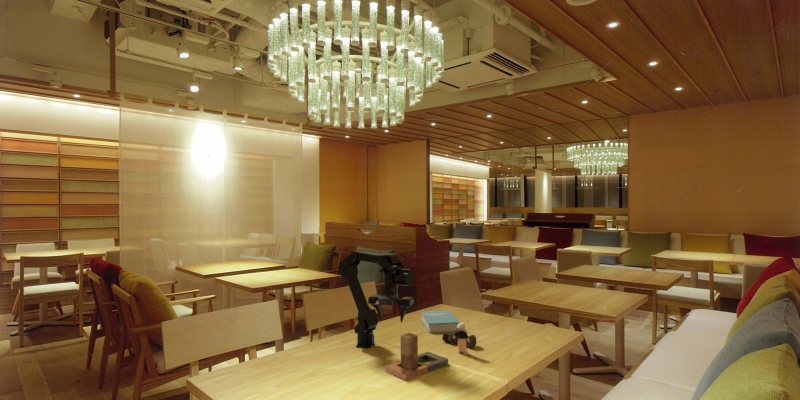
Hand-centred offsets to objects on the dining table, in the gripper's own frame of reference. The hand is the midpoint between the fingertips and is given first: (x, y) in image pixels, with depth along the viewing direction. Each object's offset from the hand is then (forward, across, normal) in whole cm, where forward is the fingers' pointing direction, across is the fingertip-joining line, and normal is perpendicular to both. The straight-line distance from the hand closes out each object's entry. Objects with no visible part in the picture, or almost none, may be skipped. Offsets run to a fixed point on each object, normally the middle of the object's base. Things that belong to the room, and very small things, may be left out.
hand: (391, 320), depth 172 cm
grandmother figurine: (+13, +28, +8) cm, 32 cm away
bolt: (+14, +24, +18) cm, 33 cm away
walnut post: (+13, +14, -16) cm, 25 cm away
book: (+14, +9, +43) cm, 46 cm away
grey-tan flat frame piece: (+13, +16, -12) cm, 24 cm away
